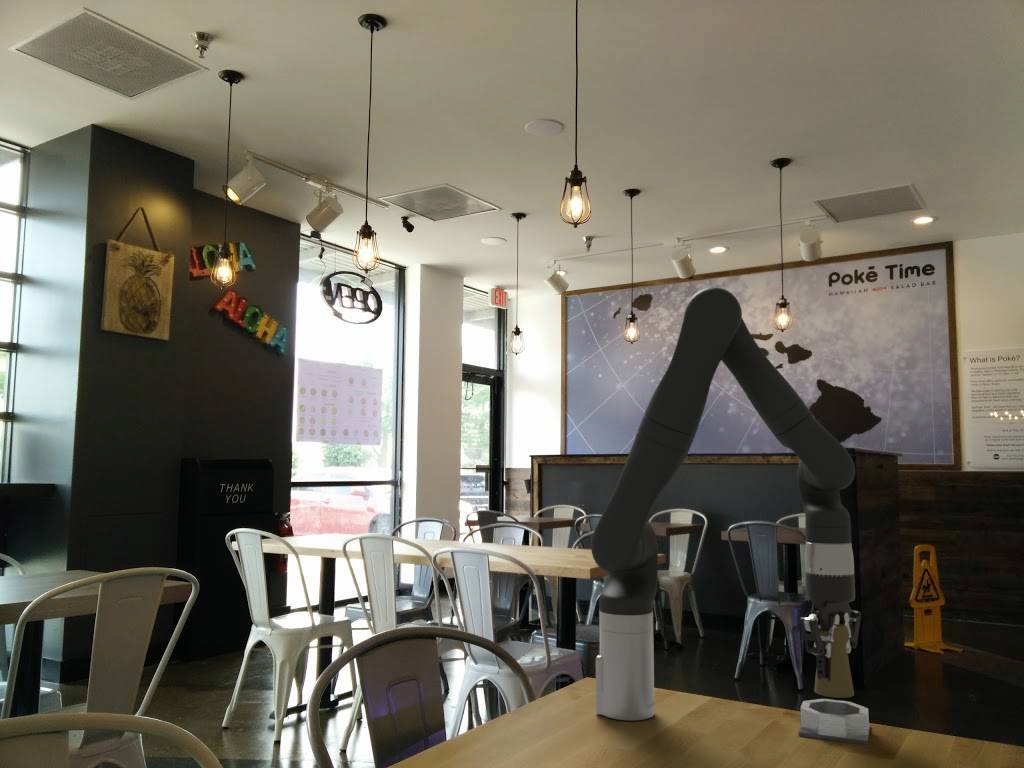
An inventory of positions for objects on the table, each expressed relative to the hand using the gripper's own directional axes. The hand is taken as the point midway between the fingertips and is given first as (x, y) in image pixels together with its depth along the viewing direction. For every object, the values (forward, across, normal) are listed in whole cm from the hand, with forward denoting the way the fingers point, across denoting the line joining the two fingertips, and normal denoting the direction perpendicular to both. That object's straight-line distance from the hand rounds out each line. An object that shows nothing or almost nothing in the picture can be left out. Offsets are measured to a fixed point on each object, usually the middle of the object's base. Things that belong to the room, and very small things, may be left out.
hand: (833, 677), depth 137 cm
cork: (+3, 0, 0) cm, 3 cm away
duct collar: (+8, 0, 0) cm, 8 cm away
